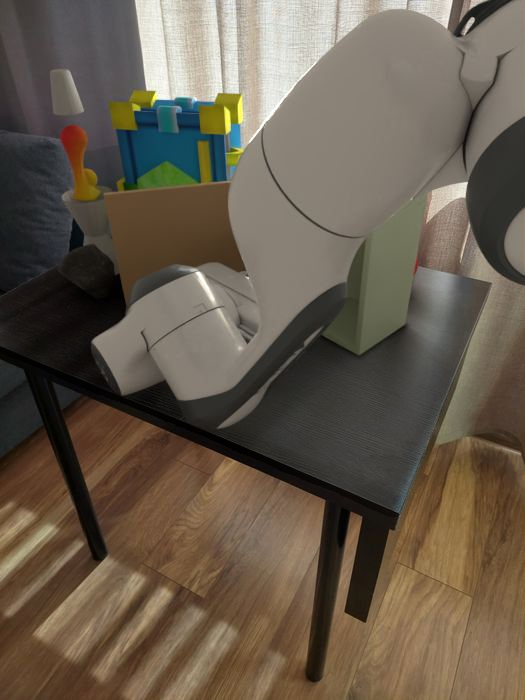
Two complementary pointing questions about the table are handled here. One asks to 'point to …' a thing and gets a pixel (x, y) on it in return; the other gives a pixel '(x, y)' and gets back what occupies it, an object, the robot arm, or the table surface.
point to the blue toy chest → (177, 139)
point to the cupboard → (380, 281)
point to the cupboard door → (171, 229)
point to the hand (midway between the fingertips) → (284, 281)
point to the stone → (89, 270)
